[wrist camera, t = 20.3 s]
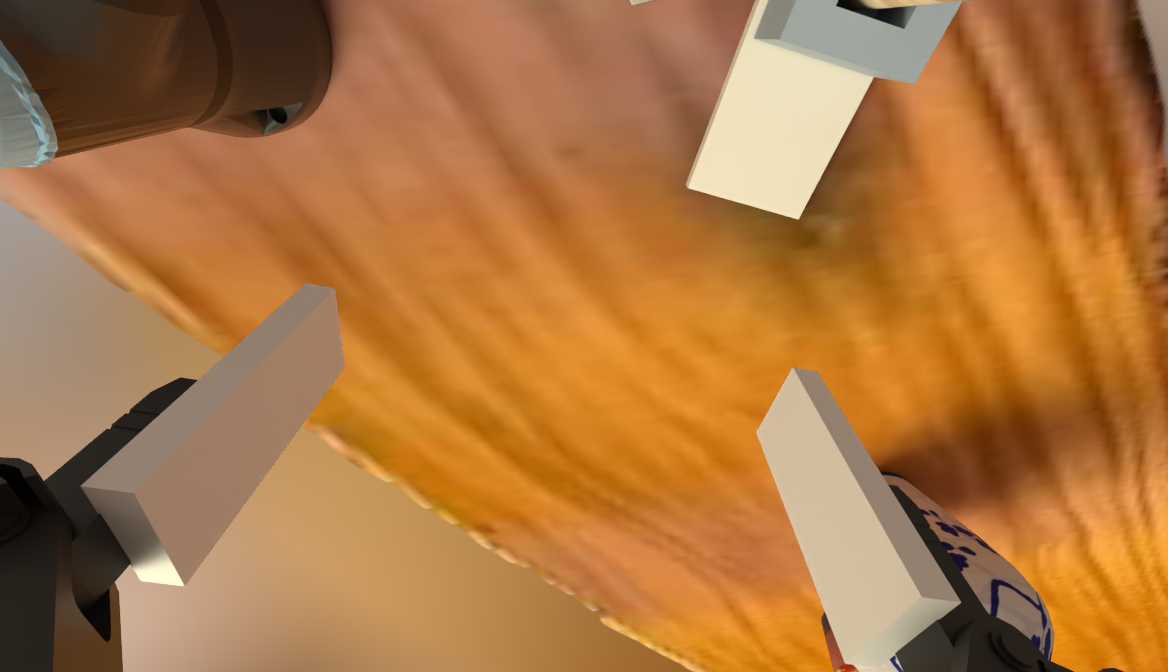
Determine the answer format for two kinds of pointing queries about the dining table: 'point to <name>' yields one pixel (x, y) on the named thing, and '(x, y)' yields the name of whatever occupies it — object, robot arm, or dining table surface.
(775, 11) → the socket block
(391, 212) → the dining table surface
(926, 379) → the dining table surface
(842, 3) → the dowel
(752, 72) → the peg insertion fixture
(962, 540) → the vase
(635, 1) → the supplement box
